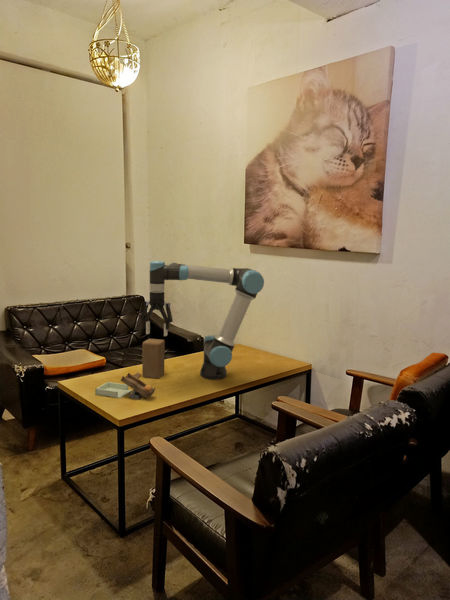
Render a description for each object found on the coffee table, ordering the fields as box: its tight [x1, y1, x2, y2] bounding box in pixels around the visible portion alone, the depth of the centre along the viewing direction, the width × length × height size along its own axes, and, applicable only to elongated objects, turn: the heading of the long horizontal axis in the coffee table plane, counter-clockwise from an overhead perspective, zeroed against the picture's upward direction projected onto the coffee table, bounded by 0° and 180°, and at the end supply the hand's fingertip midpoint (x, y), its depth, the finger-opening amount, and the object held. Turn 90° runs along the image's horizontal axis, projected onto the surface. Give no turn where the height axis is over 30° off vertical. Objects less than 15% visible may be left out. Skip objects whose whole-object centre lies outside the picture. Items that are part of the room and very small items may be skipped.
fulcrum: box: [128, 389, 144, 400], centre depth 223 cm, size 5×7×4 cm
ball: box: [144, 384, 153, 392], centre depth 221 cm, size 4×4×4 cm
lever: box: [120, 372, 156, 399], centre depth 226 cm, size 16×14×4 cm
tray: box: [95, 381, 133, 399], centre depth 227 cm, size 14×11×3 cm
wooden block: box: [141, 338, 166, 379], centre depth 254 cm, size 10×10×20 cm
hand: (156, 334), depth 234 cm, fingers open, 9 cm apart
